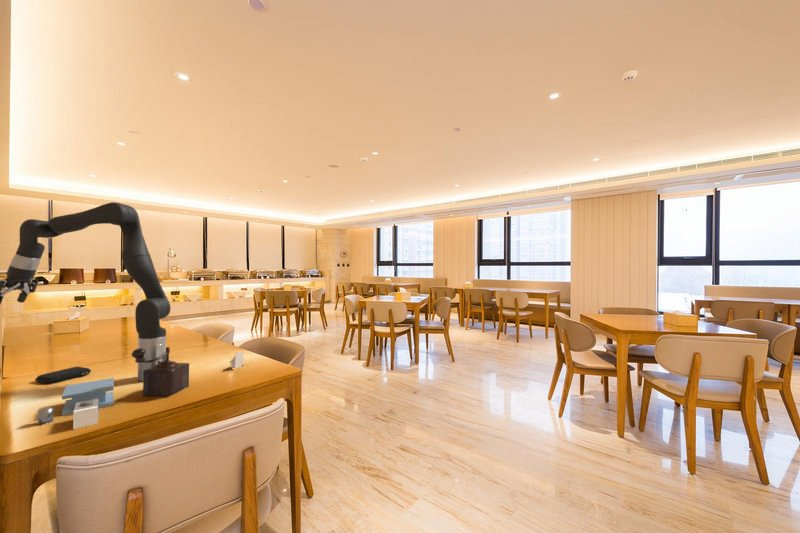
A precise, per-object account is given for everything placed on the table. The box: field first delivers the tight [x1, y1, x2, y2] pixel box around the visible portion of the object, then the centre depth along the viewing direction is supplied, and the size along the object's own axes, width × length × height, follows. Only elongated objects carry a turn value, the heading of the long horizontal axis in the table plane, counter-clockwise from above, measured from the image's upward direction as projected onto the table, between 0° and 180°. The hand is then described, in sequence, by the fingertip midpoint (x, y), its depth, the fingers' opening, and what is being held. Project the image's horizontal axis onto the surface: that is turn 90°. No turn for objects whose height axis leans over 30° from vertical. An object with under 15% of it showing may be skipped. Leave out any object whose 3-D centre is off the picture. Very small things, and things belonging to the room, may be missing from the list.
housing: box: [72, 399, 99, 430], centre depth 97 cm, size 8×5×6 cm, turn 41°
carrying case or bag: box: [34, 366, 92, 385], centre depth 133 cm, size 11×3×15 cm
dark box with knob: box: [131, 346, 190, 398], centre depth 118 cm, size 16×11×18 cm
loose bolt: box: [37, 406, 54, 425], centre depth 96 cm, size 3×3×4 cm
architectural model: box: [228, 351, 245, 369], centre depth 150 cm, size 3×7×8 cm, turn 170°
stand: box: [61, 377, 115, 416], centre depth 109 cm, size 12×12×6 cm
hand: (8, 303), depth 131 cm, fingers open, 8 cm apart
